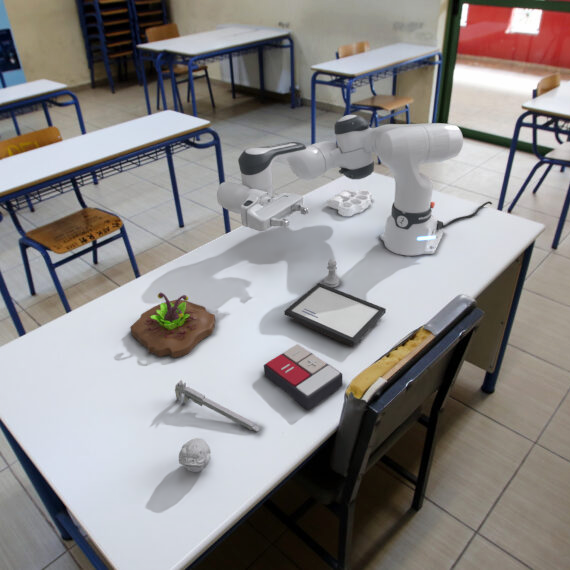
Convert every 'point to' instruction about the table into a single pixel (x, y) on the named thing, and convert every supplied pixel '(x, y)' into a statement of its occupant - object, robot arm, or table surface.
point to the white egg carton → (350, 202)
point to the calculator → (303, 376)
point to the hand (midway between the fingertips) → (297, 217)
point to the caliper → (211, 405)
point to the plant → (173, 327)
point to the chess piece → (331, 275)
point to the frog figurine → (195, 455)
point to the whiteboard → (335, 313)
